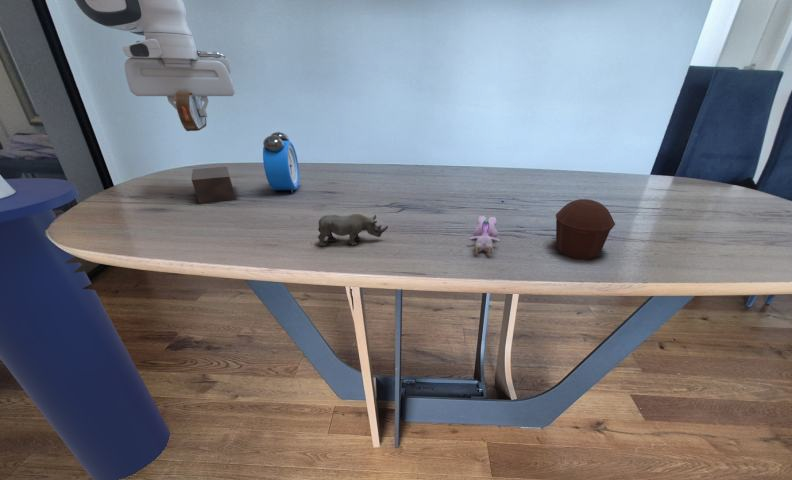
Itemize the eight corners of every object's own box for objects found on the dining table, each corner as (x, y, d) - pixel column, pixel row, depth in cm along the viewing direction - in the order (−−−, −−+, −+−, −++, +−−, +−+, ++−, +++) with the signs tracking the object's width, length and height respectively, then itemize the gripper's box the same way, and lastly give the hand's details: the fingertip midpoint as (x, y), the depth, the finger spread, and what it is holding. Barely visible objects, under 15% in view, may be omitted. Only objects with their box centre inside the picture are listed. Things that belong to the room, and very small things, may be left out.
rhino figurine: (389, 244, 75) (387, 216, 72) (317, 248, 72) (312, 218, 69) (388, 236, 78) (386, 209, 75) (320, 239, 76) (315, 211, 73)
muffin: (611, 265, 70) (625, 215, 65) (552, 259, 71) (560, 209, 66) (601, 240, 80) (612, 195, 75) (549, 236, 81) (557, 191, 76)
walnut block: (199, 203, 92) (191, 179, 89) (199, 191, 101) (192, 169, 98) (235, 199, 96) (229, 176, 93) (232, 187, 105) (227, 166, 102)
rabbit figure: (498, 263, 72) (501, 224, 83) (500, 237, 68) (503, 200, 79) (466, 261, 72) (473, 222, 84) (467, 235, 68) (474, 198, 80)
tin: (197, 125, 96) (184, 89, 91) (211, 124, 97) (199, 88, 92) (183, 134, 84) (168, 92, 79) (199, 133, 85) (185, 92, 80)
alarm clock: (293, 196, 100) (282, 137, 92) (269, 197, 99) (255, 137, 91) (302, 183, 111) (292, 130, 103) (280, 183, 110) (269, 130, 102)
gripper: (226, 52, 89) (241, 114, 96) (117, 47, 80) (142, 116, 86) (227, 52, 84) (243, 117, 91) (112, 46, 75) (139, 120, 82)
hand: (193, 117), depth 89 cm, fingers closed on tin, 3 cm apart
